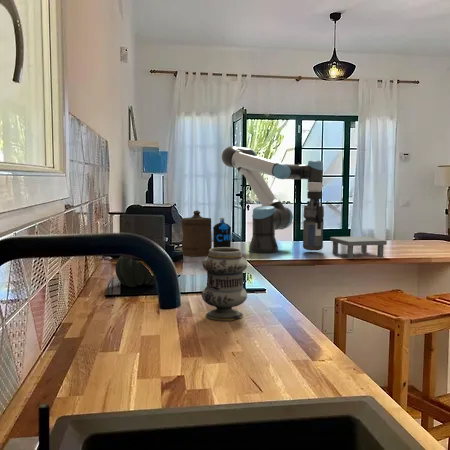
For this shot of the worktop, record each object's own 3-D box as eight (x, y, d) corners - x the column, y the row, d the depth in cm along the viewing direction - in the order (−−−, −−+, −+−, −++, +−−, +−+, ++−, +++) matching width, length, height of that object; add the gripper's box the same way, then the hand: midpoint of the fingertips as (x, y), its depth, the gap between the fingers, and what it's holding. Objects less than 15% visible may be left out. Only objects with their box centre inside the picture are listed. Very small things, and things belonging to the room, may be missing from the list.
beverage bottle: (325, 248, 253) (326, 200, 251) (320, 251, 241) (322, 201, 239) (305, 247, 257) (307, 200, 255) (300, 250, 244) (301, 201, 242)
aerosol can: (210, 261, 218) (210, 217, 216) (226, 260, 221) (226, 217, 220) (217, 264, 211) (217, 218, 209) (234, 263, 214) (234, 218, 212)
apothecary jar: (226, 325, 120) (226, 253, 118) (192, 316, 128) (192, 249, 126) (256, 315, 129) (256, 248, 127) (222, 307, 137) (223, 245, 135)
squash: (163, 273, 160) (157, 236, 168) (117, 277, 156) (113, 239, 164) (159, 294, 171) (154, 259, 179) (116, 298, 167) (113, 262, 175)
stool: (348, 258, 228) (348, 241, 228) (330, 252, 248) (330, 237, 247) (386, 257, 233) (386, 240, 232) (365, 251, 252) (365, 236, 251)
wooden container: (194, 251, 251) (194, 209, 249) (217, 254, 243) (217, 210, 241) (175, 255, 239) (175, 210, 237) (199, 257, 230) (199, 211, 229)
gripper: (331, 191, 235) (330, 236, 237) (313, 190, 257) (311, 232, 259) (317, 191, 234) (315, 237, 236) (299, 190, 256) (298, 232, 258)
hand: (313, 234), depth 247 cm, fingers closed on beverage bottle, 10 cm apart
